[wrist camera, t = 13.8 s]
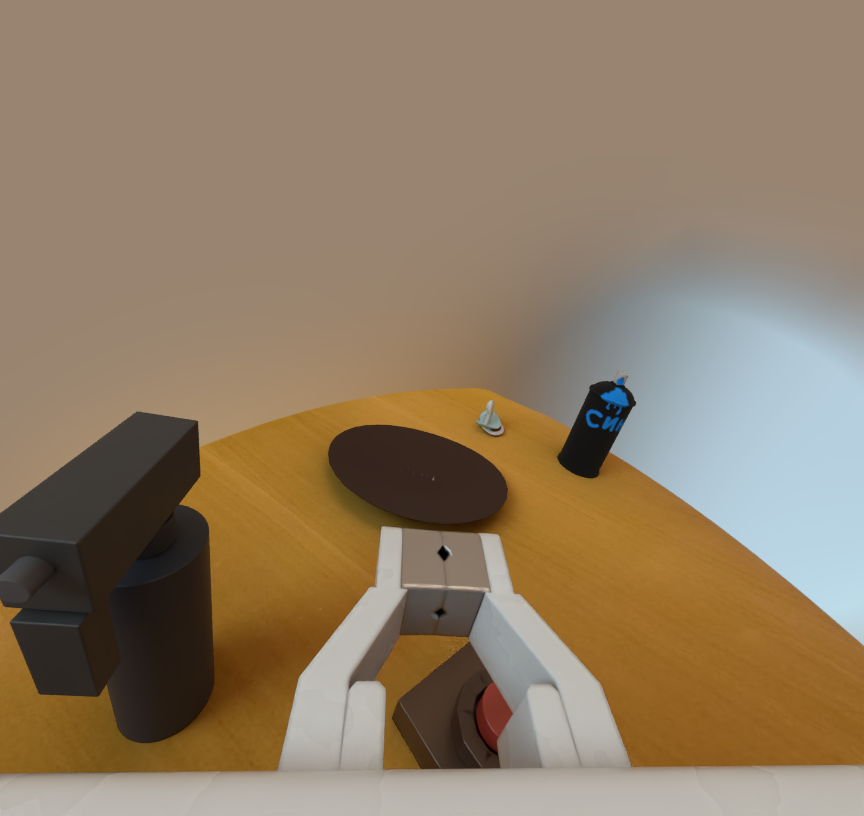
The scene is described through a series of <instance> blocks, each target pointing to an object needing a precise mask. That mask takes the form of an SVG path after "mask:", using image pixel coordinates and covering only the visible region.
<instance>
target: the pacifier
mask: <svg viewBox="0 0 864 816" xmlns="http://www.w3.org/2000/svg"><path fill="white" fill-rule="evenodd" d="M493 411H494V400H491V401H489V402H488V403H487V406H486V411H484V412H482V413H481V415H480V421H476V423H478V424H479V425H481V428H482V429H483V430H485V431H486V432H487V433H489V434H491V435H495V436H498V435H501V434H503V432H504V427H503V425H502V424H501V422H500V418H499V416H498V415H497V414H496V413H494V412H493ZM484 416H486V418H485V417H484ZM498 428H500V431H497V432H493V431H491V430H492V429H498Z"/></svg>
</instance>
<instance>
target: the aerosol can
mask: <svg viewBox="0 0 864 816" xmlns="http://www.w3.org/2000/svg"><path fill="white" fill-rule="evenodd" d="M628 376H629V375H628V374H626V373H624V372H621V371H618V372H617V373H616V376H615V378H614V380H613V381H611V382H609V381H602V382H598V383H596V384H593V385H591V386H590V388H589V389H590V391H589V393H588V395H587V397H586V399H585V402H584V404H583V406H582V408H581V410H580V412H579V414H578V417H577V419H576V421H575V423H574V425H573V427H572V430H571V432H570V434H569V436H568V438H567V440H566V442H565V445H564V447H563V449H562V451H561V453H559V454H558V460H559V462H560V463H561V464H562V465H563V466H564V467H565V468H566V469H568V470H569V471H571V472H573V473H575V474H577V475H580V476H583V477H588V478H593V477H596V476H598V474H599V469H600V468H601V466H602V464H603V462H604V460H605V458H606V456H607V454H608V453H609V451H610V449H611V447H612V445H613V443H614V441H615V439H616V437H617V436H618V434H619V432H620V430H621V428H622V426H623V424H624V422H625V420H626V419H627V417H628V415H629V413H630V411H631V409H632V407H633V406H635V405H636V402H635V400H634V397H633V395H632V393H631V392H630V391H629V390H628V389H627V388H625V386H624V384H625V382H626V380H627V378H628Z"/></svg>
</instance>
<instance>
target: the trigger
mask: <svg viewBox="0 0 864 816" xmlns="http://www.w3.org/2000/svg"><path fill="white" fill-rule="evenodd" d="M10 624H11V627H12V629H13V632H14V634H15V637H16V639H17V641H18V644H19V646H20V649H21V651H22V654H23V656H24V658H25V661H26V663H27V666H28V668H29V671H30V673H31V675H32V678H33V680H34V683H35V685H36V688H37V690H38V693H39V694H42V695H68V696H93V697H98V696H99V695H100V694H101V692H102V690H103V689H104V687H105V686H106V684H107V682H108V681H109V679H110V678H111V676H112V674H113V673H114V671H115V670H116V668H117V667H118V665H119V663H120V662H121V658H120V653H119V649H118V644H117V640H116V635H115V630H114V626H113V621H112V617H111V612H110V608H109V603H108V599H107V598H106V599H105V601H104V602H103V603H102V605H101V606H100V607H99V609H98V610H97V611H96V612H95V613H81V612H67V611H54V610H40V609H26V608H23V609H22V610H21V611H20V612H19V613H18V614H17V615H16V616H15V617H14V618H13V619H12V620H11V621H10Z"/></svg>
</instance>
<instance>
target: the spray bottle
mask: <svg viewBox="0 0 864 816" xmlns="http://www.w3.org/2000/svg"><path fill="white" fill-rule="evenodd" d="M199 477H200V455H199V433H198V421H195V420H189V419H182V418H175V417H169V416H163V415H156V414H149V413H143V412H136V413H134V414H133V415H132V416H130V417H129V418H127V419H126V420H125V421H123V422H122V423H121V424H119V425H118V426H117V427H116V428H114V429H113V430H111V431H110V432H109V433H107V434H106V435H105V436H103V437H102V438H101V439H99V440H98V441H97V442H95V443H94V444H93V445H91V446H90V447H89V448H87V449H86V450H85V451H83V452H82V453H81V454H79V455H78V456H77V457H75V458H74V459H72V460H71V461H70V462H68V463H67V464H66V465H64V466H63V467H62V468H60V469H59V470H58V471H56V472H55V473H54V474H52V475H51V476H50V477H48V478H47V479H46V480H44V481H43V482H42V483H40V484H39V485H38V486H36V487H35V488H34V489H32V490H31V491H30V492H28V493H27V494H25V495H24V496H23V497H21V498H20V499H19V500H17V501H16V502H15V503H13V504H12V505H11V506H9V507H8V508H7V509H5V510H4V511H3V512H1V513H0V599H1V601H2V603H3V606H5V607H12V608H26V609H40V610H54V611H67V612H81V613H95V612H96V611H97V610H98V609H99V607H100V606H101V605H102V603H103V602H104V601H105V599H106V598H107V599H108V603H109V608H110V612H111V617H112V621H113V626H114V630H115V635H116V640H117V644H118V649H119V653H120V658H121V662H120V663H119V665H118V667H117V668H116V670H115V671H114V673H113V674H112V676H111V678H110V679H109V681H108V682H107V688H108V692H109V696H110V699H111V703H112V707H113V711H114V715H115V718H116V722H117V726H118V728H119V730H120V732H121V733H122V734H123V735H124V736H125V737H126V738H127V739H129V740H131V741H135V742H140V743H150V742H156V741H160V740H163V739H165V738H168V737H170V736H172V735H174V734H176V733H178V732H179V731H180V730H182V729H183V728H185V727H186V726H187V725H188V724H190V723H191V722H192V721H193V720H194V719H195V718H196V717H197V716H198V714H199V713H200V712H201V711H202V709H203V708H204V707H205V705H206V703H207V702H208V700H209V697H210V695H211V693H212V690H213V685H214V657H213V629H212V601H211V574H210V546H209V526H208V523H207V521H206V519H205V518H204V517H203V516H202V514H200V513H199V512H198V511H196V510H194V509H192V508H190V507H187V506H183V505H179V503H180V502H181V501H182V499H183V498H184V497H185V495H186V494H187V493H188V491H189V490H190V489H191V488H192V486H193V485H194V484H195V482H196V481H197V480H198V478H199Z"/></svg>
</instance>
